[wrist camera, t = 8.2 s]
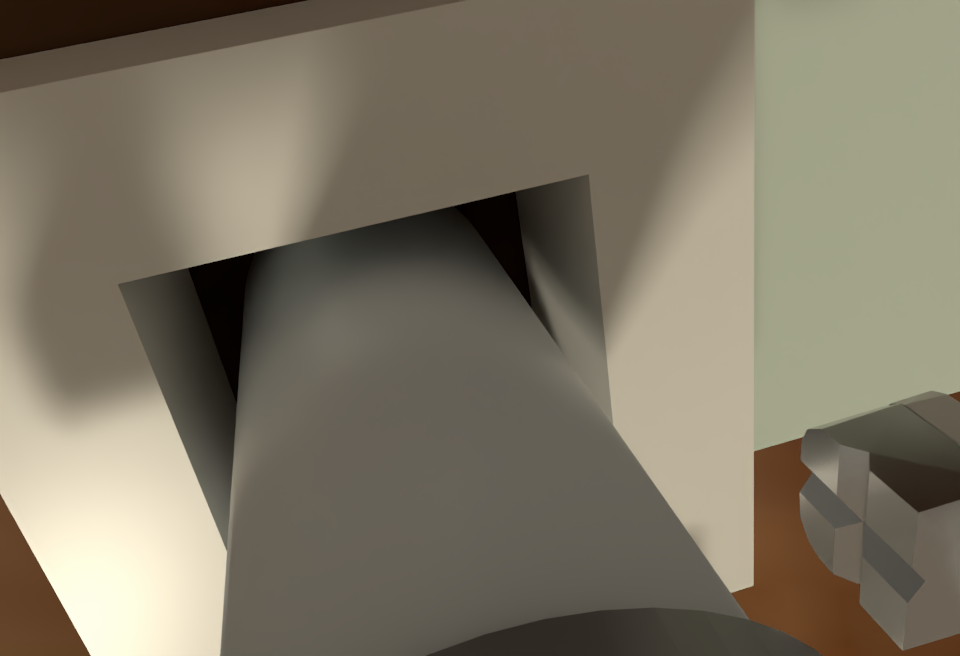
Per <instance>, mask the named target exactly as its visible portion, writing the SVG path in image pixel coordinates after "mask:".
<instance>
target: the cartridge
mask: <svg viewBox="0 0 960 656" xmlns="http://www.w3.org/2000/svg"><path fill="white" fill-rule="evenodd" d="M220 656H822V655H821V654H820V653H819V652H817V651H816V650H815V649H813V648H811V647H810V646H808V645H806V644H804V643H803V642H801V641H799V640H797V639H795V638H794V637H792V636H790V635H788V634H786V633H785V632H782V631H779V630H777V629H774V628H771V627H768V626H765V625H762V624H759V623H757V622H754V621H751V620H749V618H748V617H747V615H746V614H745V613H744V611H743V610H742V608H741V607H740V605H739V604H738V603H737V601H736V600H735V598H734V597H733V595H732V594H731V593H730V591H729V590H728V588H727V587H726V585H725V584H724V583H723V581H722V580H721V578H720V577H719V575H718V574H717V573H716V571H715V570H714V568H713V567H712V565H711V564H710V563H709V561H708V560H707V558H706V557H705V556H704V554H703V553H702V551H701V550H700V548H699V547H698V546H697V544H696V543H695V541H694V540H693V538H692V537H691V536H690V534H689V533H688V531H687V530H686V528H685V527H684V526H683V524H682V523H681V521H680V520H679V518H678V517H677V516H676V514H675V513H674V511H673V510H672V508H671V507H670V506H669V504H668V503H667V501H666V500H665V498H664V497H663V496H662V494H661V493H660V491H659V490H658V488H657V487H656V486H655V484H654V483H653V481H652V480H651V478H650V477H649V476H648V474H647V473H646V471H645V470H644V468H643V467H642V466H641V464H640V463H639V461H638V460H637V458H636V457H635V456H634V454H633V453H632V451H631V450H630V448H629V447H628V446H627V444H626V443H625V441H624V440H623V439H622V437H621V436H620V434H619V433H618V431H617V430H616V429H615V427H614V426H613V424H612V423H611V421H610V420H609V419H608V417H607V416H606V414H605V413H604V411H603V410H602V409H601V407H600V406H599V404H598V403H597V401H596V400H595V399H594V397H593V396H592V394H591V393H590V391H589V390H588V389H587V387H586V386H585V384H584V383H583V381H582V380H581V379H580V377H579V376H578V374H577V373H576V371H575V370H574V369H573V367H572V366H571V364H570V363H569V361H568V360H567V359H566V357H565V356H564V354H563V353H562V351H561V350H560V349H559V347H558V346H557V344H556V343H555V341H554V340H553V339H552V337H551V336H550V334H549V333H548V331H547V330H546V329H545V327H544V326H543V324H542V323H541V322H540V320H539V319H538V317H537V316H536V314H535V313H534V312H533V310H532V309H531V307H530V306H529V304H528V303H527V302H526V300H525V299H524V297H523V296H522V294H521V293H520V292H519V290H518V289H517V287H516V286H515V284H514V283H513V282H512V280H511V279H510V277H509V276H508V274H507V273H506V272H505V270H504V269H503V267H502V266H501V264H500V263H499V262H498V260H497V259H496V257H495V256H494V254H493V253H492V252H491V250H490V249H489V247H488V246H487V244H486V243H485V242H484V240H483V239H482V237H481V236H480V234H479V233H478V232H477V230H476V229H475V228H474V226H473V225H472V224H471V223H470V221H469V220H468V219H467V218H466V217H465V216H464V215H463V214H462V213H461V212H460V211H459V210H458V209H457V208H455V207H454V206H451V207H446V208H442V209H438V210H434V211H429V212H425V213H421V214H416V215H412V216H408V217H404V218H399V219H395V220H391V221H386V222H382V223H378V224H374V225H369V226H365V227H361V228H356V229H352V230H348V231H344V232H339V233H335V234H331V235H326V236H322V237H318V238H314V239H309V240H305V241H301V242H296V243H292V244H288V245H284V246H279V247H275V248H271V249H266V250H262V251H258V252H255V254H254V256H253V259H252V262H251V264H250V267H249V270H248V274H247V279H246V284H245V294H244V308H243V323H242V338H241V353H240V368H239V382H238V397H237V412H236V427H235V442H234V456H233V471H232V486H231V501H230V516H229V530H228V545H227V560H226V575H225V590H224V604H223V619H222V634H221V649H220Z"/></svg>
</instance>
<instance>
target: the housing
mask: <svg viewBox="0 0 960 656" xmlns="http://www.w3.org/2000/svg"><path fill="white" fill-rule="evenodd" d="M754 108H755V0H307V1H302V2H297V3H292V4H286V5H281V6H276V7H271V8H266V9H260V10H255V11H250V12H245V13H240V14H234V15H229V16H224V17H219V18H214V19H208V20H203V21H198V22H193V23H188V24H182V25H177V26H172V27H167V28H162V29H157V30H151V31H146V32H141V33H136V34H131V35H125V36H120V37H115V38H110V39H105V40H99V41H94V42H89V43H84V44H79V45H73V46H68V47H63V48H58V49H53V50H47V51H42V52H37V53H32V54H27V55H21V56H16V57H11V58H6V59H1V60H0V494H1V496H2V498H3V499H4V501H5V503H6V505H7V506H8V508H9V510H10V512H11V514H12V515H13V517H14V519H15V521H16V523H17V524H18V526H19V528H20V530H21V531H22V533H23V535H24V537H25V539H26V540H27V542H28V544H29V546H30V548H31V549H32V551H33V553H34V555H35V556H36V558H37V560H38V562H39V564H40V565H41V567H42V569H43V571H44V573H45V574H46V576H47V578H48V580H49V581H50V583H51V585H52V587H53V589H54V590H55V592H56V594H57V596H58V598H59V599H60V601H61V603H62V605H63V606H64V608H65V610H66V612H67V614H68V615H69V617H70V619H71V621H72V623H73V624H74V626H75V628H76V630H77V631H78V633H79V635H80V637H81V639H82V640H83V642H84V644H85V646H86V648H87V649H88V651H89V653H90V655H91V656H220V649H221V634H222V619H223V604H224V590H225V575H226V560H227V545H228V530H229V516H230V501H231V486H232V471H233V456H234V442H235V427H236V412H237V403H236V400H235V397H234V395H233V392H232V389H231V386H230V384H229V381H228V378H227V375H226V372H225V370H224V367H223V364H222V361H221V358H220V356H219V353H218V350H217V347H216V345H215V342H214V339H213V336H212V333H211V331H210V328H209V325H208V322H207V320H206V317H205V314H204V311H203V308H202V306H201V303H200V300H199V297H198V294H197V292H196V289H195V286H194V283H193V281H192V278H191V275H190V272H189V269H188V268H189V267H194V266H198V265H202V264H206V263H211V262H215V261H219V260H224V259H228V258H232V257H236V256H241V255H245V254H249V253H254V252H258V251H262V250H266V249H271V248H275V247H279V246H284V245H288V244H292V243H296V242H301V241H305V240H309V239H314V238H318V237H322V236H326V235H331V234H335V233H339V232H344V231H348V230H352V229H356V228H361V227H365V226H369V225H374V224H378V223H382V222H386V221H391V220H395V219H399V218H404V217H408V216H412V215H416V214H421V213H425V212H429V211H434V210H438V209H442V208H446V207H451V206H455V205H459V204H464V203H468V202H472V201H476V200H481V199H485V198H489V197H494V196H498V195H502V194H506V193H511V192H515V194H516V201H517V208H518V215H519V222H520V229H521V236H522V243H523V250H524V257H525V264H526V271H527V278H528V285H529V292H530V298H531V305H532V310H533V312H534V313H535V314H536V316H537V317H538V319H539V320H540V322H541V323H542V324H543V326H544V327H545V329H546V330H547V331H548V333H549V334H550V336H551V337H552V339H553V340H554V341H555V343H556V344H557V346H558V347H559V349H560V350H561V351H562V353H563V354H564V356H565V357H566V359H567V360H568V361H569V363H570V364H571V366H572V367H573V369H574V370H575V371H576V373H577V374H578V376H579V377H580V379H581V380H582V381H583V383H584V384H585V386H586V387H587V389H588V390H589V391H590V393H591V394H592V396H593V397H594V399H595V400H596V401H597V403H598V404H599V406H600V407H601V409H602V410H603V411H604V413H605V414H606V416H607V417H608V419H609V420H610V421H611V423H612V424H613V426H614V427H615V429H616V430H617V431H618V433H619V434H620V436H621V437H622V439H623V440H624V441H625V443H626V444H627V446H628V447H629V448H630V450H631V451H632V453H633V454H634V456H635V457H636V458H637V460H638V461H639V463H640V464H641V466H642V467H643V468H644V470H645V471H646V473H647V474H648V476H649V477H650V478H651V480H652V481H653V483H654V484H655V486H656V487H657V488H658V490H659V491H660V493H661V494H662V496H663V497H664V498H665V500H666V501H667V503H668V504H669V506H670V507H671V508H672V510H673V511H674V513H675V514H676V516H677V517H678V518H679V520H680V521H681V523H682V524H683V526H684V527H685V528H686V530H687V531H688V533H689V534H690V536H691V537H692V538H693V540H694V541H695V543H696V544H697V546H698V547H699V548H700V550H701V551H702V553H703V554H704V556H705V557H706V558H707V560H708V561H709V563H710V564H711V565H712V567H713V568H714V570H715V571H716V573H717V574H718V575H719V577H720V578H721V580H722V581H723V583H724V584H725V585H726V587H727V588H728V590H729V591H730V593H732V592H735V591H738V590H741V589H744V588H748V587H751V586H753V562H754Z"/></svg>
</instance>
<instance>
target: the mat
mask: <svg viewBox="0 0 960 656" xmlns="http://www.w3.org/2000/svg"><path fill="white" fill-rule="evenodd" d="M928 391H936V392H940V393H944V394H947V395H948V394H952V393H955V392H959V391H960V0H755V108H754V451H756V450H760V449H763V448H766V447H770V446H773V445H777V444H780V443H784V442H787V441H790V440H794V439H797V438H801V437H804V435H805V433H806V431H807V429H809V428H813V427H816V426H819V425H823V424H826V423H829V422H833V421H836V420H839V419H843V418H846V417H850V416H853V415H856V414H860V413H863V412H866V411H870V410H873V409H876V408H880V407H883V406H888V405H889V404H890V403H893V402H896V401H900V400H903V399H906V398H909V397H912V396H916V395H919V394H922V393H925V392H928Z"/></svg>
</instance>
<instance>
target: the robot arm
mask: <svg viewBox="0 0 960 656" xmlns="http://www.w3.org/2000/svg"><path fill="white" fill-rule="evenodd" d="M801 461H802V462H803V463H804V464H805V465H806V466H807V467H808V468H809V469H810V470H811V471H812V472H813V473H812V474H811V476H810V477H809V479H808V480H807V482H806V483H805V485H804V486H803V488H802V489H801V491H800V517H801V520H802V523H803V526H804V529H805V532H806V535H807V538H808V541H809V542H810V544H811V546H812V547H813V549H814V551H815V552H816V554H817V556H818V557H819V558H820V560H821V561H822V562H823V563H824V564H825V565H826V566H827V568H828V569H829V570H830V571H831V572H832V573H833V574H835V575H837V576H840V577H842V578H845V579H847V580H850V581H852V582H855V583H857V584H859V603H860V605H861V606H862V607H863V608H864V609H865V610H866V611H867V612H868V613H869V614H870V616H871V617H872V618H873V619H874V620H875V621H876V622H877V623H878V624H879V625H880V627H881V628H882V629H883V630H884V631H885V632H886V633H887V634H888V635H889V636H890V638H891V639H892V640H893V641H894V642H895V643H896V644H897V645H898V646H899V647H900V649H901V650H902V651H903V650H906V649H910V648H913V647H916V646H920V645H923V644H926V643H929V642H933V641H936V640H939V639H943V638H946V637H949V636H952V635H956V634H959V633H960V402H958V401H956V400H955V399H953V398H952V397H950V396H949V395H947V394H944V393H940V392H936V391H928V392H925V393H922V394H919V395H916V396H912V397H909V398H906V399H903V400H900V401H896V402H893V403H890V404H889V405H888V406H883V407H880V408H876V409H873V410H870V411H866V412H863V413H860V414H856V415H853V416H850V417H846V418H843V419H839V420H836V421H833V422H829V423H826V424H823V425H819V426H816V427H813V428H809V429H807V431H806V433H805V435H804V437H803V439H802V442H801Z"/></svg>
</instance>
